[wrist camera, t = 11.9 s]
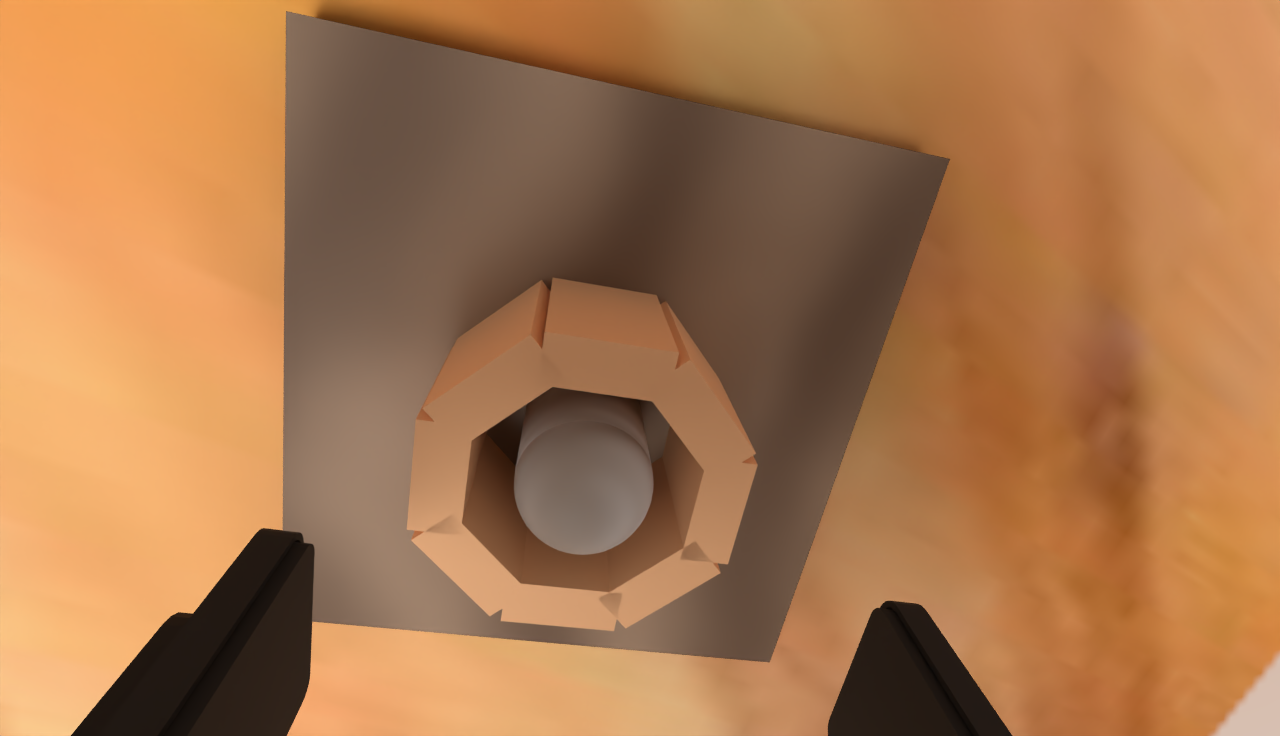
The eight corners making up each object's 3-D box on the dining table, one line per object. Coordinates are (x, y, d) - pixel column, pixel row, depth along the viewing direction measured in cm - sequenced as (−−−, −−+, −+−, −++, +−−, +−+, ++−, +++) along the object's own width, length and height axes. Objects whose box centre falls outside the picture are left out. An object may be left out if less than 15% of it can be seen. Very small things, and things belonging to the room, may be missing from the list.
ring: (741, 309, 17) (786, 369, 13) (681, 535, 19) (705, 639, 16) (460, 261, 16) (424, 312, 12) (435, 507, 18) (400, 611, 15)
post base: (920, 153, 17) (1102, 185, 11) (757, 628, 23) (821, 816, 17) (313, 18, 15) (134, -34, 9) (302, 583, 21) (189, 783, 15)
